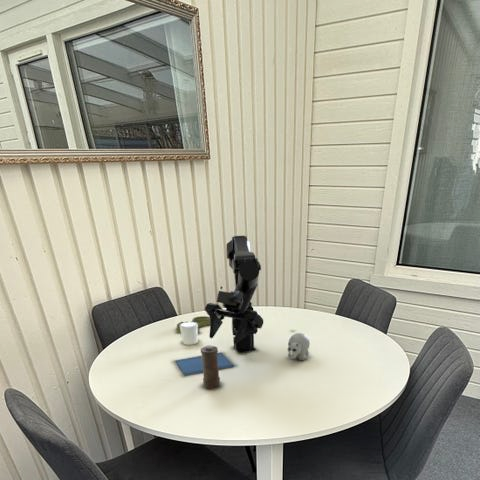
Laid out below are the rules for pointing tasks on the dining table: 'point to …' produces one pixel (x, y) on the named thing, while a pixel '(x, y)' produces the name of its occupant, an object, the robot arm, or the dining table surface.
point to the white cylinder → (189, 332)
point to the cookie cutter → (200, 321)
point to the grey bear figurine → (298, 346)
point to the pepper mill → (210, 367)
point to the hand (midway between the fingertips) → (222, 340)
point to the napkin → (200, 364)
